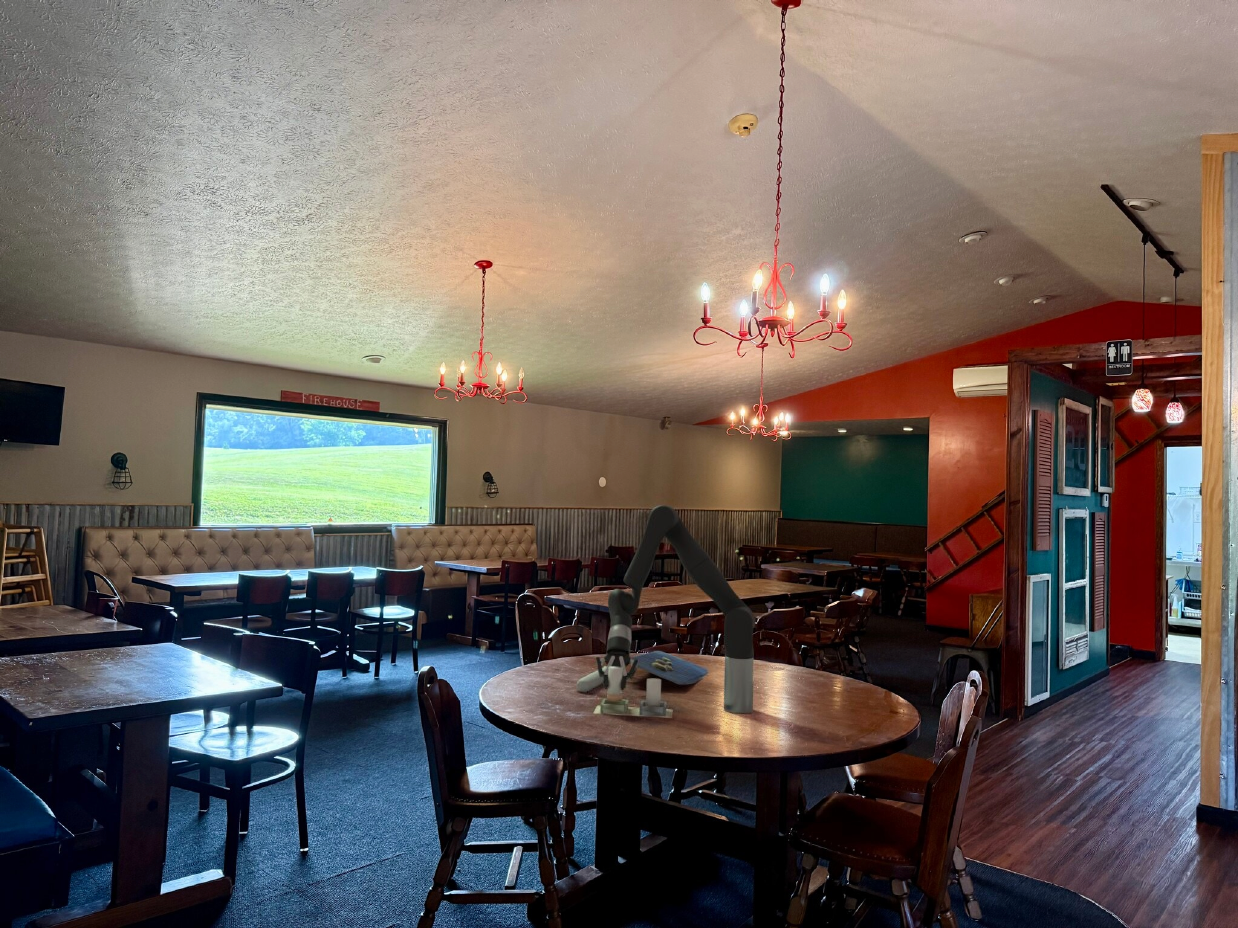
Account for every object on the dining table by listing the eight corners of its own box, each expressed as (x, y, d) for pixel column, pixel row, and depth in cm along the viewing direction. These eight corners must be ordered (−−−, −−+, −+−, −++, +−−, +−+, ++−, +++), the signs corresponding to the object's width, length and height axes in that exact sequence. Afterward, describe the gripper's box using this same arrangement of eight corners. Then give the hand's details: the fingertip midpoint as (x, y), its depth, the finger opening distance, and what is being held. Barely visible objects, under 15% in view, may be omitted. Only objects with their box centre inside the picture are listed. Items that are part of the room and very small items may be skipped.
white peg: (622, 698, 254) (623, 666, 254) (621, 702, 249) (622, 669, 250) (607, 697, 254) (609, 665, 255) (606, 701, 250) (607, 668, 250)
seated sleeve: (660, 710, 253) (661, 678, 253) (660, 714, 248) (661, 681, 249) (645, 710, 253) (646, 677, 254) (645, 713, 248) (646, 680, 249)
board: (672, 714, 255) (672, 701, 255) (671, 722, 245) (672, 709, 245) (597, 710, 257) (597, 697, 257) (593, 718, 247) (593, 704, 247)
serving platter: (644, 670, 336) (653, 643, 337) (706, 695, 327) (714, 668, 327) (608, 684, 294) (618, 653, 295) (677, 713, 285) (688, 682, 285)
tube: (590, 682, 279) (616, 669, 303) (576, 676, 281) (603, 663, 304) (585, 697, 280) (611, 682, 303) (571, 690, 282) (599, 676, 305)
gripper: (596, 634, 261) (590, 679, 248) (640, 636, 260) (637, 682, 247) (598, 647, 266) (592, 693, 253) (641, 650, 265) (637, 696, 252)
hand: (614, 687), depth 250 cm, fingers closed on white peg, 4 cm apart
